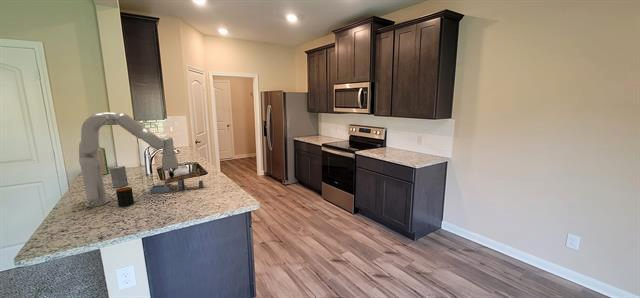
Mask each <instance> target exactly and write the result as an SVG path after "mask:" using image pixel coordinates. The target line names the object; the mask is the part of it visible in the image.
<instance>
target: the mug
mask: <svg viewBox="0 0 640 298" xmlns="http://www.w3.org/2000/svg"><path fill="white" fill-rule="evenodd" d="M115 192H116V200H117V206H118V207H119V208H126V207H130V206H133V205H134V204H135V201H134V200H135V199H134V194H133V193H134V192H133V188H132V187H130V186H124V187H122V188H117V189H116V190H115Z"/></svg>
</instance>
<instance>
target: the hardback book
mask: <svg viewBox="0 0 640 298" xmlns="http://www.w3.org/2000/svg"><path fill="white" fill-rule="evenodd" d="M105 149H106V148H104V147H101V146H99V150H98V159H99V161H100V163H101V172H102V176H103V175H109V174H110V171H109V167H108V160H107V155H106V154H107V153H106V150H105Z"/></svg>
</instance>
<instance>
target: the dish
mask: <svg viewBox="0 0 640 298" xmlns="http://www.w3.org/2000/svg"><path fill="white" fill-rule="evenodd" d="M165 185H167V186H169V187H164V186H165ZM172 188H173V184H172V183H169V184H165V183H163V184H154V185H152V186H151V187H150V188H149V195H154V194H155V195H156V193H157V194H164V193H165V192H166V193H171V191H172V190H173V189H172ZM171 189H172V190H171ZM166 193H165V194H166Z"/></svg>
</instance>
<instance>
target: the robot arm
mask: <svg viewBox="0 0 640 298" xmlns="http://www.w3.org/2000/svg"><path fill="white" fill-rule="evenodd" d="M114 125H115V126H120V127H121V128H123V130H125V131H127V132H128V133H130V135H133V136H135V138H138V139H140V140H141V141H143V142H145V143H146V144H147V145H149V147H150V148H153V149H154V150H162V152H161V153H160V155H162V156H161V168H162V171H166V172H167V173H168V176H169V177H170V178H171V177H173V176H175V171H176V170H179V169H180V168H179V162H178V158H177V156H176V154H175V146H174V139H173V137H169V136H168V137H167V136H165V137H159V136H157V135H156V134H154V133H153V132H151V131H150V130H149V129H148V128H146V127H145V126H143V125H142V124H141V123H139V122H138V121H137V120H135V119H134V118H133V117H131V116H130V115H129V114H127V113H125V112H94V113H93V114H91V115H90V116H89V117H87V118H86V119H85V120H84V121H83V122H82V125H81V132H80V137H81V138H80V141H79V143H78V161H79V162H78V163H79V165H80V170H81V176H82V180H83V186H84V191H85V195H86V201H87V202H85V203H84V207H87V208H92V207H98V206H99V207H100V206H102V205H105V204H108V203H109V202H110V198H108V197H107V196H106V190H105V183H104V179H103V175H102V172H101V163H100V161H99V159H98V150H99V147H100V140H99V139H100V137H99V135H100V129H101V128H102V127H103V126H114Z"/></svg>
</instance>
